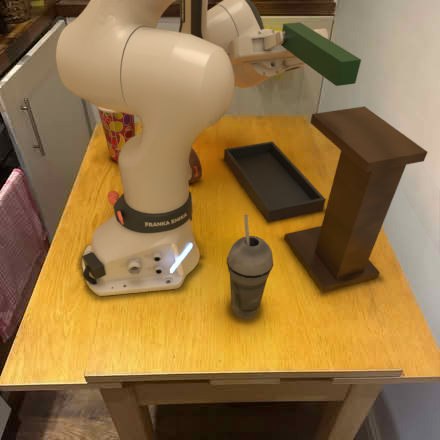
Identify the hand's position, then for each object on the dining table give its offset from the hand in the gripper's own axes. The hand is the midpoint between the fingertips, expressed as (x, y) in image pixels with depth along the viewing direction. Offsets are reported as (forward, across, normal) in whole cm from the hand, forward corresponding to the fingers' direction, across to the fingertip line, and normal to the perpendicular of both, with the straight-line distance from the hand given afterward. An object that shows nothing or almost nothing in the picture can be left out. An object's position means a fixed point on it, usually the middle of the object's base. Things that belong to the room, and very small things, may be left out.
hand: (296, 34), depth 73 cm
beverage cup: (+12, -21, +44) cm, 50 cm away
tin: (-28, -19, +21) cm, 40 cm away
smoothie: (-38, -31, +15) cm, 52 cm away
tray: (-18, 0, +27) cm, 32 cm away
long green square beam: (+6, 0, +6) cm, 8 cm away
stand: (+6, 0, +41) cm, 41 cm away
